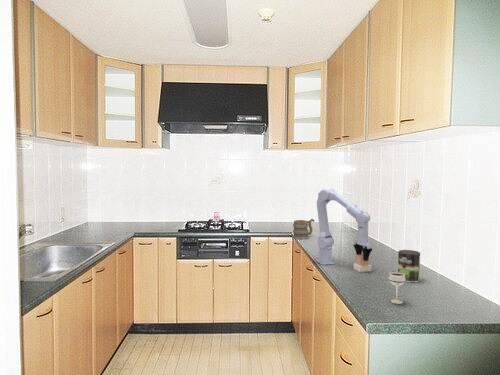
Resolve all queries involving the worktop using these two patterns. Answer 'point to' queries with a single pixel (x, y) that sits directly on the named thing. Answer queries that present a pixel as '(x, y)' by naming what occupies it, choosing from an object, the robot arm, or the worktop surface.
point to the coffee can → (409, 265)
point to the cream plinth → (362, 268)
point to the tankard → (302, 229)
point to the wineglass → (397, 282)
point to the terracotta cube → (361, 260)
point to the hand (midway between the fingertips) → (362, 259)
